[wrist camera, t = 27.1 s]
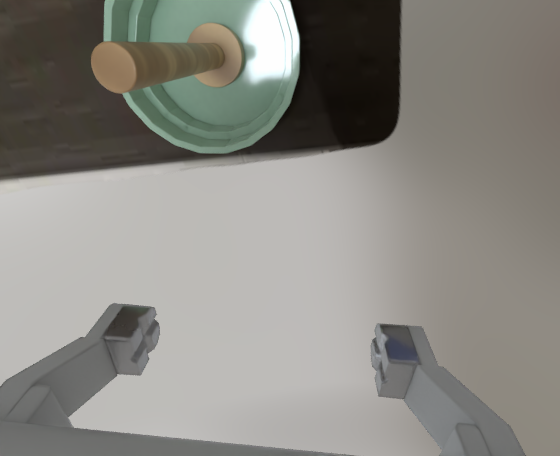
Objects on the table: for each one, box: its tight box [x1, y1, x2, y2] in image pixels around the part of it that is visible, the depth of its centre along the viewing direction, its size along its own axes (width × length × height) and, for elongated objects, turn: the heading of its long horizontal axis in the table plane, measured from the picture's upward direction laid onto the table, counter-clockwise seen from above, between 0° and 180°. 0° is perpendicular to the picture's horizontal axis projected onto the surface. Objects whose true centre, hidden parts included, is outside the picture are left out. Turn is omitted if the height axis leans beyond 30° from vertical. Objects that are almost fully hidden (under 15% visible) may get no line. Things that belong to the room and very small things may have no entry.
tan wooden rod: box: [91, 23, 245, 93], centre depth 21 cm, size 5×5×18 cm
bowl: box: [104, 0, 301, 153], centre depth 27 cm, size 15×15×6 cm
